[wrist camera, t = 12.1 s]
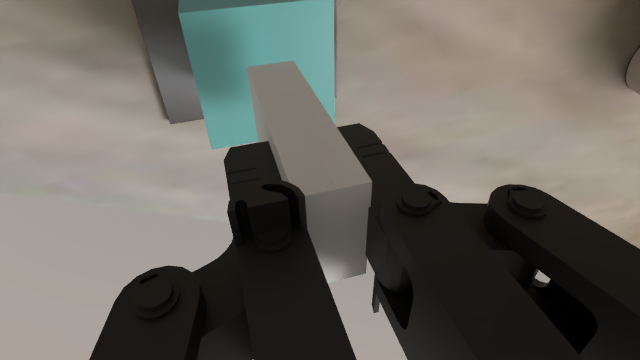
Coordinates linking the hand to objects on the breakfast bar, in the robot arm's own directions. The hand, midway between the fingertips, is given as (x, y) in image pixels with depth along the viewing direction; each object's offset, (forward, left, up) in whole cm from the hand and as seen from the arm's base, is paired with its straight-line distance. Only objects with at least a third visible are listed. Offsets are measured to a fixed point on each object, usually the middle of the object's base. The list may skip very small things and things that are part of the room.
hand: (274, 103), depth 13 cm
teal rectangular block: (0, 0, -9) cm, 9 cm away
